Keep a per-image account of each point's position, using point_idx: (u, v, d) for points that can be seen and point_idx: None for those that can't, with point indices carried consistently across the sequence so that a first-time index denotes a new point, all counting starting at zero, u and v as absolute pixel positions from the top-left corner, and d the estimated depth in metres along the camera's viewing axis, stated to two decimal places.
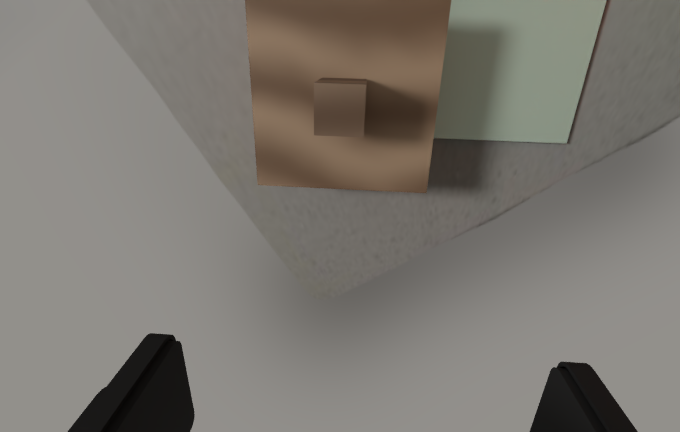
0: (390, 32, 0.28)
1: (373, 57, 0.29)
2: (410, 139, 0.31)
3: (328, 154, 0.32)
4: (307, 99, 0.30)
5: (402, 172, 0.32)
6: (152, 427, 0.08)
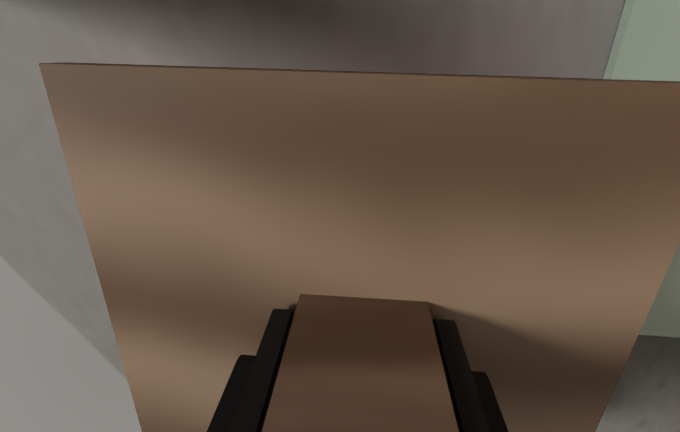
0: (513, 190, 0.09)
1: (452, 252, 0.09)
2: (533, 428, 0.12)
3: None
4: (261, 338, 0.11)
5: None
6: None
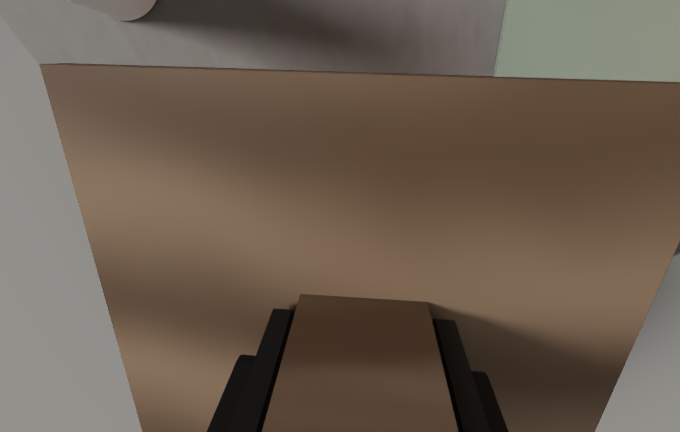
0: (512, 190, 0.09)
1: (452, 252, 0.10)
2: (533, 428, 0.12)
3: None
4: (261, 338, 0.11)
5: None
6: None
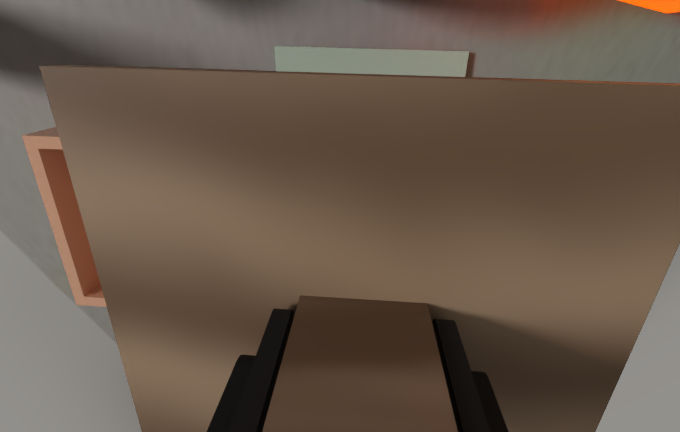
0: (513, 192, 0.09)
1: (452, 254, 0.09)
2: (533, 429, 0.12)
3: None
4: None
5: None
6: None
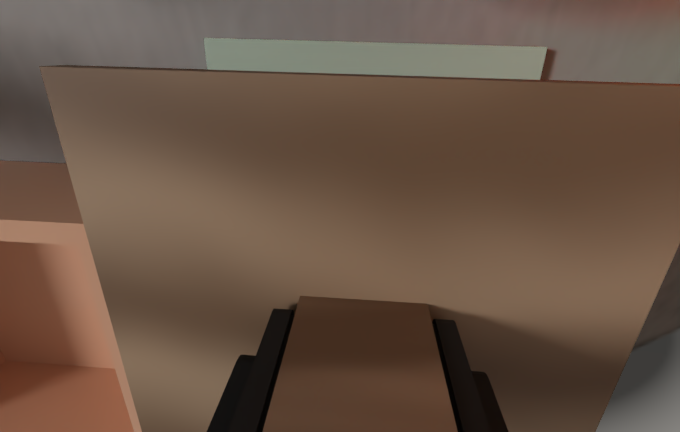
0: (512, 192, 0.09)
1: (452, 254, 0.09)
2: (533, 429, 0.12)
3: None
4: None
5: None
6: None
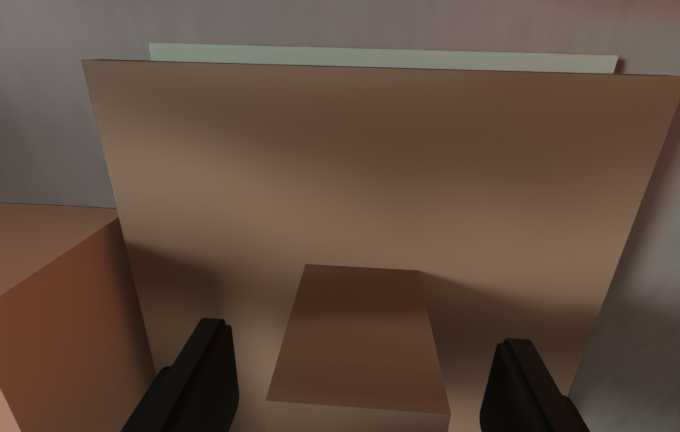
0: (490, 168, 0.10)
1: (439, 225, 0.11)
2: None
3: None
4: (270, 306, 0.12)
5: None
6: (211, 403, 0.09)
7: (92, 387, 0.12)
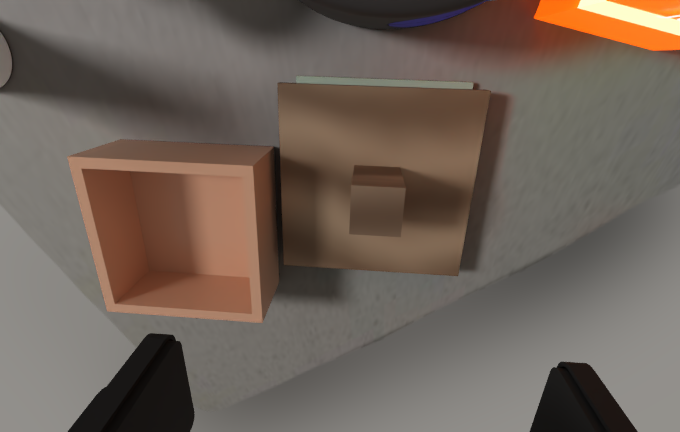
0: (426, 124, 0.27)
1: (407, 147, 0.28)
2: (443, 225, 0.30)
3: (357, 237, 0.31)
4: (338, 185, 0.29)
5: (434, 255, 0.31)
6: (152, 427, 0.08)
7: (264, 216, 0.29)
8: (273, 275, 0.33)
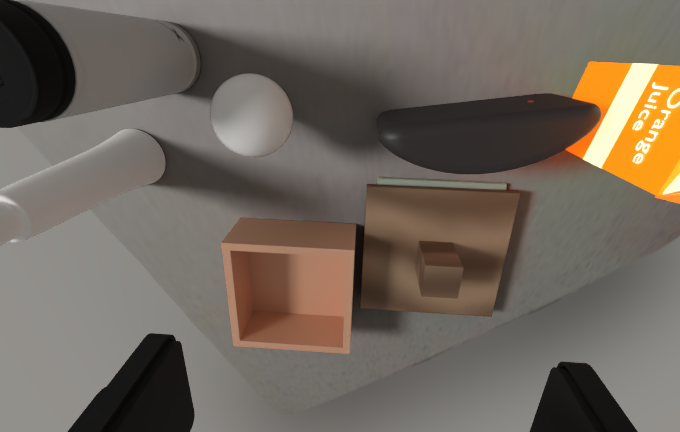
0: (473, 214, 0.38)
1: (458, 229, 0.38)
2: (482, 281, 0.41)
3: (417, 289, 0.42)
4: (405, 254, 0.40)
5: (474, 302, 0.42)
6: (152, 427, 0.08)
7: (353, 278, 0.40)
8: None
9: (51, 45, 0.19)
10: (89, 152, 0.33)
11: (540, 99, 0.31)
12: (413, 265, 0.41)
